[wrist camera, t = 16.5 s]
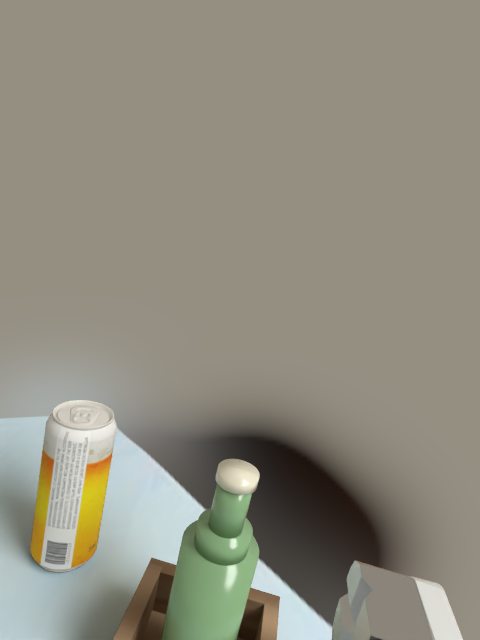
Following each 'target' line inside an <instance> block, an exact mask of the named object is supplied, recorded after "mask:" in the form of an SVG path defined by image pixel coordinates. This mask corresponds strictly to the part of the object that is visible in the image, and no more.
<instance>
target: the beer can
mask: <svg viewBox="0 0 480 640" xmlns="http://www.w3.org/2000/svg"><path fill="white" fill-rule="evenodd" d="M116 428H117V426H116V422H115V419H114V413H113V411H112V410H111V409H110V408H109V407H107V406H106V405H103V404H101V403H98V402H94V401H86V400H74V401H68V402H64V403H61V404H59V405H57V406H56V407H55V408H54V409H53V412H52V415H51V416H50V417H49V418H48V420H47V422H46V428H45V436H44V444H43V452H42V460H41V468H40V476H39V484H38V492H37V500H36V508H35V516H34V524H33V532H32V540H31V548H30V550H31V555H32V557H33V558H34V560H35V561H36V562H37V563H38V564H39V565H40V566H41V567H43V568H44V569H46V570H49V571H52V572H67V571H71V570H74V569H76V568H78V567H80V566H81V565H83V564H84V563H85V562H86V561H88V560H89V559H90V558H91V557H92V556H93V554H94V553H95V551H96V548H97V543H98V537H99V531H100V525H101V519H102V513H103V507H104V501H105V495H106V489H107V482H108V476H109V470H110V464H111V458H112V452H113V446H114V440H115V434H116Z"/></svg>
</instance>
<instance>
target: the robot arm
mask: <svg viewBox="0 0 480 640" xmlns="http://www.w3.org/2000/svg"><path fill="white" fill-rule="evenodd" d="M347 585H348V594H346V595H345V596H343V597H342V598H340V600H339V604H338V606H337V610H336V613H335V618H334V624H333V630H332V640H463V639H462V636H461V633H460V630H459V628H458V626H457V623H456V620H455V617H454V615H453V613H452V610H451V607H450V605H449V602H448V599H447V597H446V594H445V591H444V589H443V588H442V587H441V586H440V585H439V584H438V583H434V582H430V581H427V580H423V579H419V578H416V577H411V576H410V577H408V576H405V575H401V574H398V573H395V572H391V571H388V570H385V569H381V568H378V567H374V566H371V565H368V564H365V563H361V562H358V561H354V563H353V565H352V567H351V569H350V571H349V574H348V577H347Z"/></svg>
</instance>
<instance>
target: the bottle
mask: <svg viewBox="0 0 480 640" xmlns="http://www.w3.org/2000/svg"><path fill="white" fill-rule="evenodd" d="M258 480H259V472H258V470H257V469H256V468H255V467H254V466H253V465H251V464H249V463H248V462H245V461H242V460H238V459H227V460H224V461H222V462H220V464H219V465H218V470H217V474H216V481H217V487H216V491H215V496H214V500H213V504H212V508H211V509H208V510H206V511H204V512H203V513H202V514H201V515H200V517H199V520H197V521H195V522H193V523H192V524H190V525H189V526H188V527H187V528H186V530H185V532H184V534H183V538H182V543H181V547H180V552H179V556H178V561H177V566H176V570H175V575H174V579H173V584H172V588H171V593H170V598H169V602H168V607H167V611H166V616H165V620H164V625H163V630H162V634H161V639H160V640H237V636H238V632H239V629H240V625H241V621H242V617H243V614H244V610H245V606H246V602H247V599H248V595H249V591H250V588H251V584H252V580H253V576H254V573H255V569H256V565H257V561H258V557H259V547H258V544H257V542H256V540H255V538H254V537H253V535H252V531H253V530H252V526H251V524H250V522H249V521H248V520H247V518H246V515H247V511H248V507H249V502H250V499H251V495H252V492H254V491H255V490H256V487H257V483H258Z"/></svg>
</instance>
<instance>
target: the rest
mask: <svg viewBox="0 0 480 640" xmlns="http://www.w3.org/2000/svg"><path fill="white" fill-rule="evenodd" d="M176 566H177V565H174V564H170V563H167V562H164V561H160V560H157V559H154V558H151V560H150V562H149V565H148V567H147V569H146V571H145V573H144V575H143V577H142V579H141V581H140V584H139V586H138V588H137V590H136V592H135V594H134V596H133V598H132V600H131V603H130V605H129V607H128V609H127V611H126V613H125V615H124V617H123V619H122V621H121V624H120V626H119V628H118V630H117V632H116V634H115V636H114V638H113V640H160V639H161V634H162V630H163V625H164V620H165V616H166V611H167V607H168V602H169V598H170V593H171V588H172V584H173V579H174V575H175V570H176ZM279 600H280V597H279V596H276V595H272V594H269V593H266V592H262V591H259V590H256V589H253V588H250V591H249V595H248V599H247V602H246V606H245V610H244V614H243V617H242V621H241V625H240V629H239V632H238V636H237V640H276V639H277V626H278V613H279Z"/></svg>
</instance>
